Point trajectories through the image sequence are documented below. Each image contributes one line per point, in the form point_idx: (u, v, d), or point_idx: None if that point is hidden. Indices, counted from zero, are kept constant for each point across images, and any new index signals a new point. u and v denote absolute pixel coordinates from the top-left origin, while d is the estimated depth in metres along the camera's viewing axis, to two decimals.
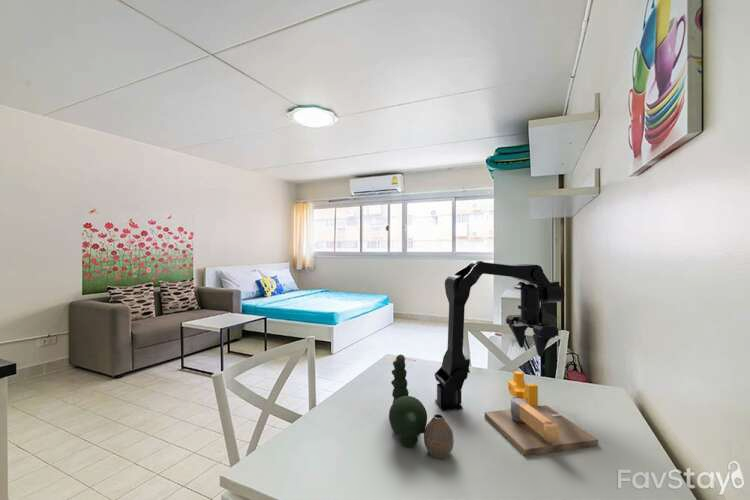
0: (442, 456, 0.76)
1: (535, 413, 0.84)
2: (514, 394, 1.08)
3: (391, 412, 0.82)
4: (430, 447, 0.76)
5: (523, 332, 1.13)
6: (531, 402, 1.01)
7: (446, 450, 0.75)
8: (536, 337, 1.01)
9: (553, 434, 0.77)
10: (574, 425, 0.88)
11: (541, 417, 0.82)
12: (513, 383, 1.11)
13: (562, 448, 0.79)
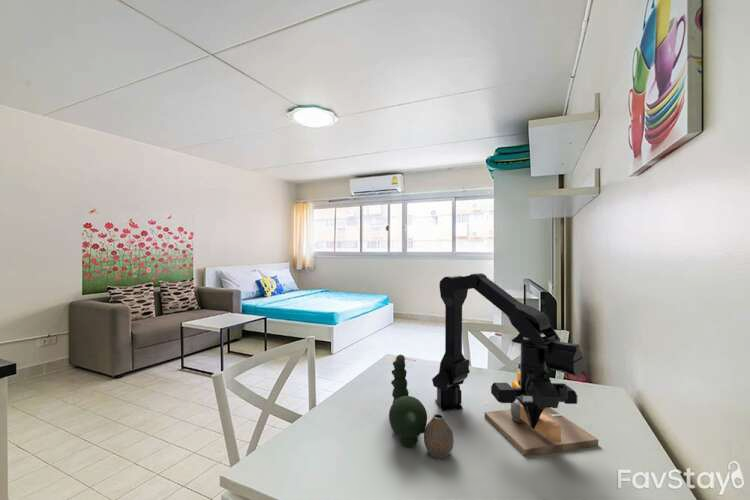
0: (442, 456, 0.76)
1: None
2: None
3: (391, 412, 0.82)
4: (430, 447, 0.76)
5: (535, 409, 0.81)
6: None
7: (446, 450, 0.75)
8: None
9: (556, 433, 0.77)
10: (574, 425, 0.88)
11: (543, 417, 0.82)
12: (517, 383, 1.11)
13: (562, 448, 0.79)
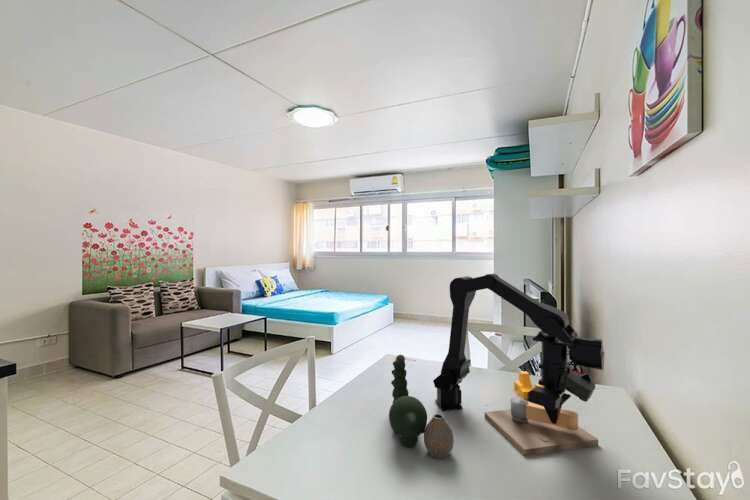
0: (442, 456, 0.76)
1: None
2: (521, 394, 1.08)
3: (391, 412, 0.82)
4: (430, 447, 0.76)
5: None
6: None
7: (446, 450, 0.75)
8: None
9: (577, 421, 0.83)
10: None
11: None
12: (519, 383, 1.11)
13: (562, 448, 0.79)
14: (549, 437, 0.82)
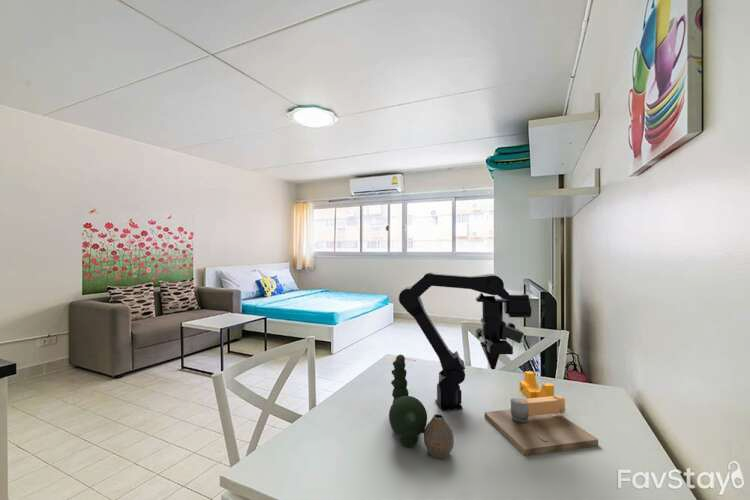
0: (442, 456, 0.76)
1: (541, 399, 0.91)
2: (528, 394, 1.07)
3: (391, 412, 0.82)
4: (430, 447, 0.76)
5: None
6: None
7: (446, 450, 0.75)
8: (484, 349, 0.98)
9: None
10: (574, 425, 0.88)
11: (548, 398, 0.92)
12: (525, 383, 1.11)
13: (562, 448, 0.79)
14: (549, 437, 0.82)
